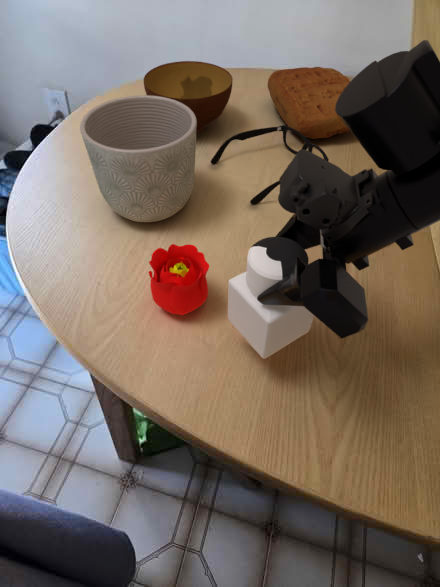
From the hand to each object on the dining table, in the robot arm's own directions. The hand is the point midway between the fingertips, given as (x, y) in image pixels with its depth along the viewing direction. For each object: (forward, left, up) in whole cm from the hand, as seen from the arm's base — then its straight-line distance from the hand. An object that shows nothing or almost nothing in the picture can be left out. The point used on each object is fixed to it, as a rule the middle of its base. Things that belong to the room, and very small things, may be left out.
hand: (261, 277), depth 45 cm
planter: (+22, -26, -13) cm, 36 cm away
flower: (+11, -6, -13) cm, 18 cm away
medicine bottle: (-1, 0, -8) cm, 8 cm away
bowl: (+22, -54, -13) cm, 59 cm away
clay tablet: (-4, -63, -13) cm, 64 cm away
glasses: (+3, -41, -13) cm, 43 cm away
